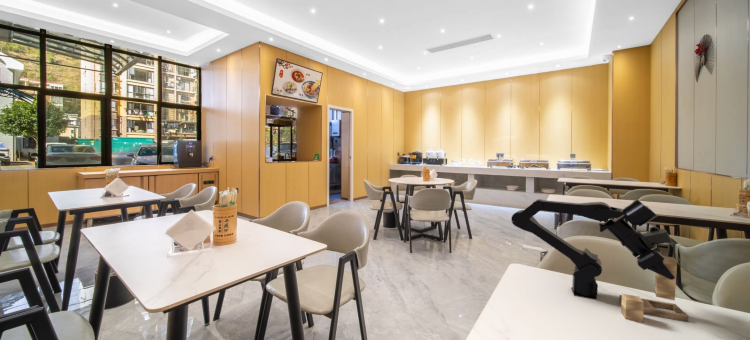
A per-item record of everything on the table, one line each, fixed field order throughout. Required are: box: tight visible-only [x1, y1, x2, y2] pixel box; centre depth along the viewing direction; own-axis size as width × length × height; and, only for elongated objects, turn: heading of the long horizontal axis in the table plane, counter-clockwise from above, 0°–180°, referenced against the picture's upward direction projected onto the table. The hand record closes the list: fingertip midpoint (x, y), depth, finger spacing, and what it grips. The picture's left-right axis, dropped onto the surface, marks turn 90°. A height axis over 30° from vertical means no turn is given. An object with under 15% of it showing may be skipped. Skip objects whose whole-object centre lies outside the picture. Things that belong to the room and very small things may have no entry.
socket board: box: [619, 294, 689, 322], centre depth 93 cm, size 14×8×2 cm, turn 64°
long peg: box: [654, 255, 678, 301], centre depth 91 cm, size 4×4×12 cm
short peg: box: [620, 293, 644, 323], centre depth 89 cm, size 4×4×6 cm
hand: (671, 276), depth 90 cm, fingers closed on long peg, 4 cm apart
